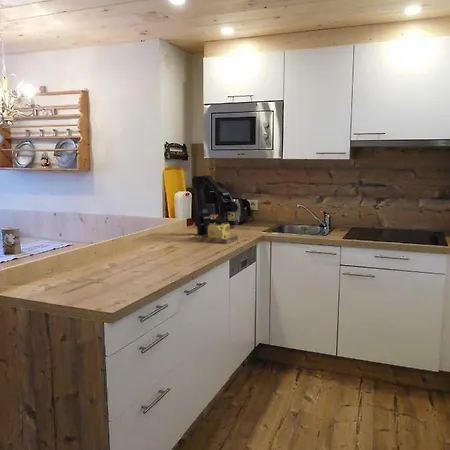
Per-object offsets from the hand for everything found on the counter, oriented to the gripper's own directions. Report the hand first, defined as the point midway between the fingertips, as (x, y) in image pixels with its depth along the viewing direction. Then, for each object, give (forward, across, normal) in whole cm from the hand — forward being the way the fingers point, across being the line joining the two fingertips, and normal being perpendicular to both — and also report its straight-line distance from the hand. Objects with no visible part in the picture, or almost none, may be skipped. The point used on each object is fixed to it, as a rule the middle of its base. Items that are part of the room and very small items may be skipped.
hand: (224, 234), depth 283 cm
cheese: (+2, +1, -8) cm, 8 cm away
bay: (+2, 0, -7) cm, 7 cm away
